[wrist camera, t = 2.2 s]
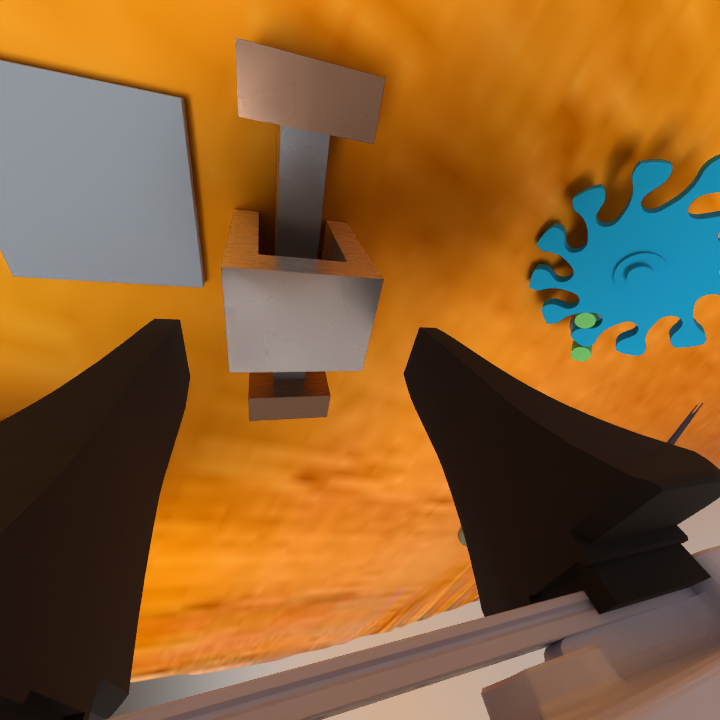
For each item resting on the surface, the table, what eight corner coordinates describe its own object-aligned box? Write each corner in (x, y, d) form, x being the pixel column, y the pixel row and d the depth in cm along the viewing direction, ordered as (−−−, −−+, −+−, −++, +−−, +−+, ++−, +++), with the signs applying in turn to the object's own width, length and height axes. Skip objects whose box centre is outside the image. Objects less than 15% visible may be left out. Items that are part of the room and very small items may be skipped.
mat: (204, 281, 16) (203, 287, 15) (21, 270, 14) (13, 276, 13) (184, 97, 11) (181, 98, 11) (-86, 41, 9) (-103, 39, 9)
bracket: (335, 298, 18) (361, 370, 13) (238, 292, 16) (229, 372, 12) (346, 222, 15) (383, 278, 11) (234, 208, 14) (221, 266, 9)
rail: (317, 369, 21) (326, 417, 18) (251, 370, 20) (249, 421, 16) (354, 81, 12) (385, 77, 9) (242, 52, 11) (235, 37, 8)
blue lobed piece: (602, 127, 14) (912, 206, 11) (607, 118, 18) (838, 175, 15) (489, 326, 22) (653, 402, 19) (510, 289, 25) (649, 348, 23)
